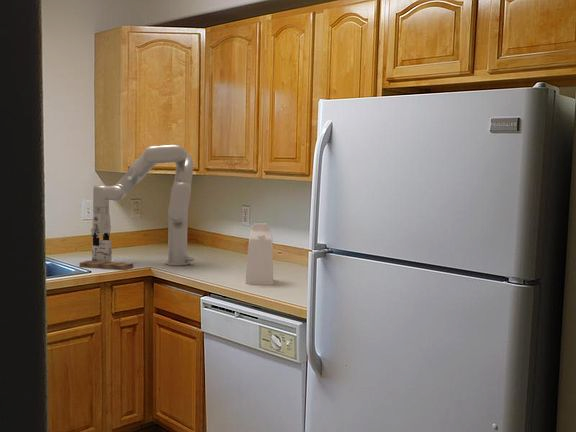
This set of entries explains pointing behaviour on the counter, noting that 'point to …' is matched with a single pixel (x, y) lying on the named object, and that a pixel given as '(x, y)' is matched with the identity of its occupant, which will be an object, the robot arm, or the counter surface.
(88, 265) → the board
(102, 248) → the ink box
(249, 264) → the milk
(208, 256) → the counter surface
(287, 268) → the counter surface
